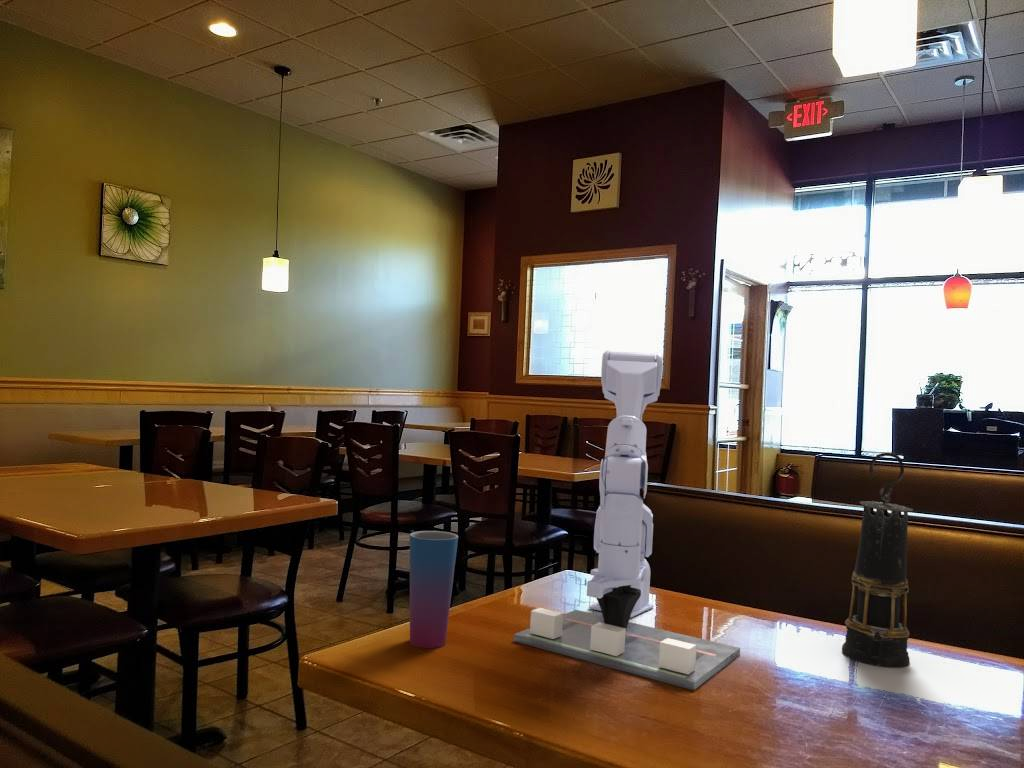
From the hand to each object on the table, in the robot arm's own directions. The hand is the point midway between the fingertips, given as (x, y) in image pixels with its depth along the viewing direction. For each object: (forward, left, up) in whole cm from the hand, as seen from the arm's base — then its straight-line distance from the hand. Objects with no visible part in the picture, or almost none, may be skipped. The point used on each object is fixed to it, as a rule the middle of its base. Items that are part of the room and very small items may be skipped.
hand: (614, 640), depth 106 cm
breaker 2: (+2, +10, -1) cm, 10 cm away
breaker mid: (+2, 0, -1) cm, 2 cm away
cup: (+14, -22, -2) cm, 26 cm away
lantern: (-27, +29, -2) cm, 40 cm away
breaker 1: (+2, -10, -1) cm, 10 cm away
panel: (-4, 0, -2) cm, 4 cm away
